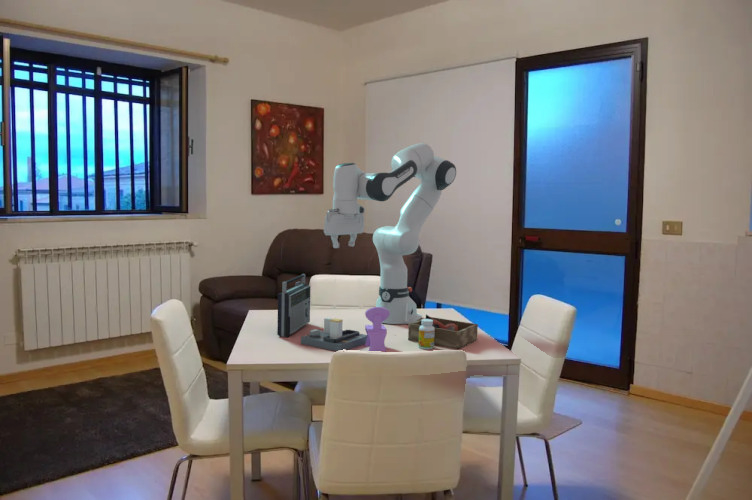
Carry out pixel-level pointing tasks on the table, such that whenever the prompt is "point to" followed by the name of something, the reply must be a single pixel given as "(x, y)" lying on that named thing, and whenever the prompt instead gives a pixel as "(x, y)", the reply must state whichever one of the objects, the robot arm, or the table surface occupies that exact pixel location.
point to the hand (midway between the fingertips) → (343, 247)
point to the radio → (293, 307)
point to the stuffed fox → (440, 325)
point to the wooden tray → (447, 333)
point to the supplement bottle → (426, 334)
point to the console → (325, 342)
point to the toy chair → (376, 328)
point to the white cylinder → (335, 328)
